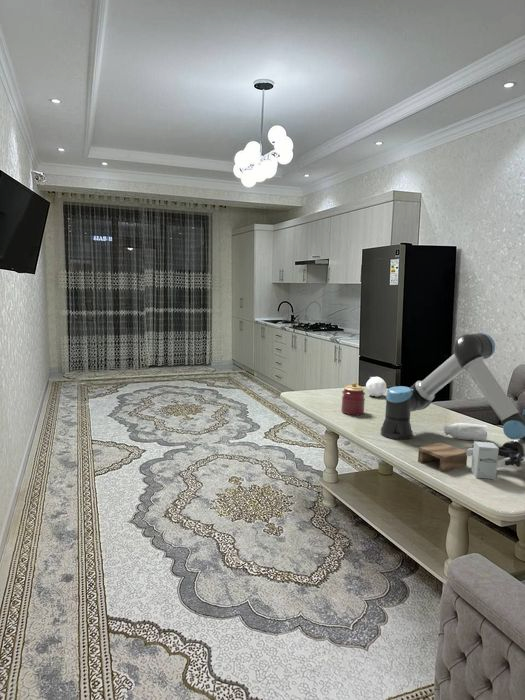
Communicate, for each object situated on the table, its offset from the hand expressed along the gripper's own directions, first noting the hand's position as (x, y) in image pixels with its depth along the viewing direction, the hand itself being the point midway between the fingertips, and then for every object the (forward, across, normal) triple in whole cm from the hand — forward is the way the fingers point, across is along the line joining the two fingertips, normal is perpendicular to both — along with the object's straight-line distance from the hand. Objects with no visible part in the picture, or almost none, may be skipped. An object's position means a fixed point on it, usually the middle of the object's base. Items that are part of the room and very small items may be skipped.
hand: (482, 458), depth 188 cm
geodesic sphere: (-60, +121, -8) cm, 135 cm away
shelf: (+2, +16, -7) cm, 18 cm away
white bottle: (-35, +33, -8) cm, 49 cm away
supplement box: (-2, 0, -8) cm, 8 cm away
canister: (-17, +95, -8) cm, 97 cm away
